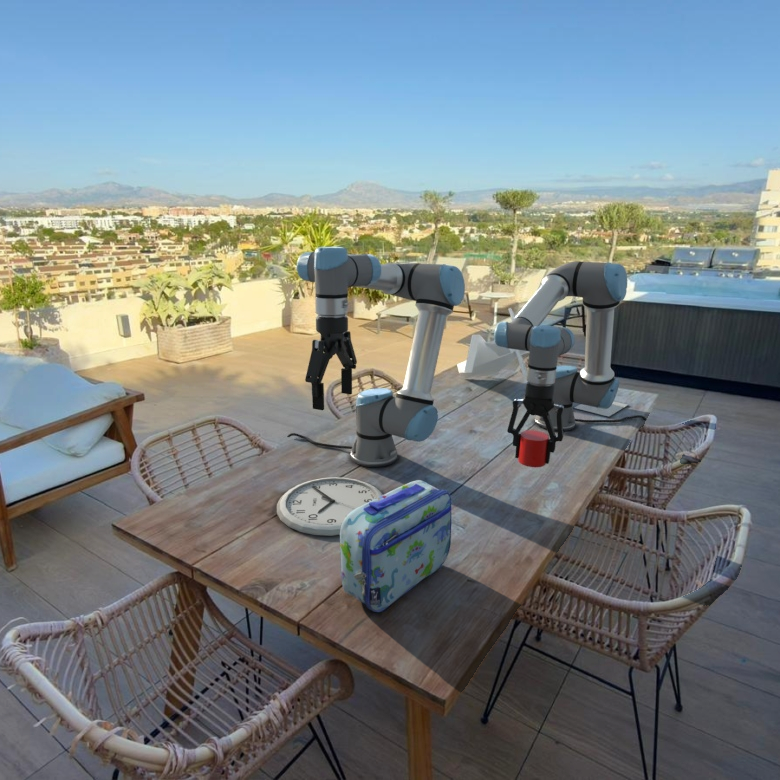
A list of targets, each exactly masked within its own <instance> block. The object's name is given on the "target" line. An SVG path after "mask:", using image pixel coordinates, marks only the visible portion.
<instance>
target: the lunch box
mask: <svg viewBox="0 0 780 780" xmlns="http://www.w3.org/2000/svg"><path fill="white" fill-rule="evenodd" d="M383 494H384V495H382V496H380V497H378V498H376V499H374V500H372V501H370V502H368V503H366V504H364V505H362V506H360V507H358V508H356V509H354V510H353V511H351V512H350V513H349V514H348V515H347V516H346V518H345V519H344V521H343V523H342V526H341V530H340V535H339V551H340V574H341V576H340V577H341V585H342V588H343V589H342V590H343V591H344V593H346V594H348V595H350V596H352V597H353V598H355V599H357V600H358V601H359V602H361V603H362V604H364V605H365V606H366V608H367V609H369V610H370V611H371V612H374V613H381V612H384V611H385V610H386V609H387V608H389V607H390V606H391V605H392V604H393V603H395V602H396V601H397V600H399V599H400V598H401V597H402V596H404V595H405V594H407V593H408V592H410V591H411V590H412V589H413V588H415V587H416V586H417V585H418V584H419V583H420V582H421V581H423V580H425V579H426V578H427V577H429V576H430V575H432V574H434V573H435V572H436V571H438V570H439V569H440V568H441V567H442V566H443V565H444V563H445V562H446V560H447V558H448V556H449V553H450V550H451V549H450V548H451V545H452V543H451V542H452V497H451V494H450V492H449V491H448V490H446V489H438V488H437V487H435V486H434V485H431V484H429V483H427V482H426V481H424V480H421V479H416V480H413V481H410V482H408V483H405V484H403V485H401V486H399V487H397V488H394V489H393V490H390V491H388V492H387V493H383Z"/></svg>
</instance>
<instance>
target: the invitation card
mask: <svg viewBox="0 0 780 780" xmlns="http://www.w3.org/2000/svg"><path fill="white" fill-rule="evenodd" d="M628 406H629V404H627V403H623V402H618V401H615V400H614V401H613V403H612V405H611V406H610V407H609V408H608V409H603V408H596V407H593V406H588V405H583V404H578V405H575V406H574V407H573V409H575V410H581V411H584V412H587V413H593V414H596V415H600V416H604V417H608V418H609V417H611V416H613V415H614V414H616V413H617V412H619V411H621V410H623V409H624V408H626V407H628Z"/></svg>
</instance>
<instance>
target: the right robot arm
mask: <svg viewBox="0 0 780 780" xmlns="http://www.w3.org/2000/svg"><path fill="white" fill-rule="evenodd" d="M627 289H628V274H627V270H626V268H625V267H624V265H623V264H620V263H613V262H609V261H608V262H601V261H599V262H598V261H597V262H595V261H581V260H577V261H576V260H575V261H570V262H566V263H564V264H561V265H560V266H557V267H556V268H554V269H552V270H551V271H550V272H548V273H547V274H546V275H545V276H544V277H543V278H542V280H541V282H540V284H539V288H538V289H537V290H536V291H535V292H534V294H533V295H532V296H531V297H530V298H529V300H528V301H527V302H526V303H525V304H524V306H523V307H522V308H521V309H520V311H518V313H517V314H516V315H515V318H514V319H513V320H512V319H511V321H510V322H508V321H501V322H498V323H497V324H496V326H495V329H494V332H493V341H495V343H496V345H497V346H500V347H505V348H507V349H516V350H524V351H529V353H528V363H527V381H528V382H527V383H525V390H524V397H523V398H522V399H519V398H517V397H516V398H514V400H513V401H512V411H511V415H510V419H509V422H508V426H507V430H506V432H507V433H508V434H512V446H513V447H515V454H514V455H515V456H514V459H518V455H519V445H520V435H521V433H520V432H521V430H522V428H523V427H524V425H525V423H526V422H527V420H528V419H529V417H530V416H534V424H535V425H536V426H537V427H539V428H542V429H544V430H547V433H548V436H549V441H548V446H547V455H546V464H545V465H548V464H549V463H550V460H551V453H555V451H556V443H557V442H562V441H563V439H564V432H567V431H572V430H574V429H575V428H576V422H579V423H620V422H624V421H626V420H632V419H638V418H639V419H643V420H644V421H647V420H648V419H647V417H645V416H644V415H639V414H638V415H637V414H635V415H631V416H624V417H622V418H619V419H581V418H575V417H576V416H575V413H574V407H573V405H574V404H578V405H580V404H583V405H588V406H593V407H596V408H603V409H608V408H609V407H610V406H611V405H612V403H613V401H614V402H615V399H616V396H617V394H618V391H619V387H620V379H619V378H617V377H615V371H614V370H613V369H612V368H611V364H612V363H611V362H612V350H613V349H612V348H613V336H614V335H613V334H614V321H615V320H614V319H615V309H616V308H617V307H618V306H619V305H620V304H621V302H622V301H624V299H625V298H626V296H627V292H628V291H627ZM566 297H575V298H582V305H583V307H585V308H586V322H585V323H586V326H585V348H584V349H585V351H584V352H585V353H584V367H583V368H581V370H580V371H578V368H577V366H573V365H558V361H559V357H561V356H562V355H566V354H567V353H568V352H569V351H571V349H573V347H574V345H575V342H576V338H575V334H574V332H573V331H572V330H571V329H570V328H568V327H565V326H564V327H563V326H554V325H547V324H546V325H542V323H543V322H544V320H545V319H546V318H547V317H548V315H549V314H550V313H551V312H552V310H554V308H555V307H556V305H557V304H558V303H559V302H561V301H564V300H565V299H566ZM522 405H523V406H524V408H525V410H526V411H525V413H524V415H523V416H522V418H521V420H520V422H519V423H518V425H517V427H516V428H515V423H516V420H517V416H518V413H519V409H520V408H521V407H522ZM555 431H556V432H555ZM556 434H557V435H556Z"/></svg>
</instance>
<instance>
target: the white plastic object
mask: <svg viewBox="0 0 780 780" xmlns="http://www.w3.org/2000/svg"><path fill="white" fill-rule="evenodd" d="M507 310H508V313H509V315H510V319H511V321H512V320H513V319H514V318H515V317H516V315H515V312H514V310H513V309H512V307H508V309H507ZM527 354H529V351H524V350H516V349H507V348H505V347H500V346H497V345H496V343H495V341H494V340H491V341H487V340H485V338H484V337H483V336H482V335H481V334H471V339H470V342H469V347H468V352H467V357H466V360H464V361H462V362H459V363H457V364H456V366H457V371H458V375H460V377H461V379H469V378H470V379H472V378H480V377H489V378H491V377H494V376H497V375H500V373H499V372H500V371H502V370H504V369H505V368H506V367H507V366H509V365H510V364H511V363H513V362H514V361H516V360H517V361H518V363H519V367H520V370H521V373H522V376H523V380H524V383H525V384H526V383H527V382H528V381H527V371H528V369H527V368H526V364H525V362H524V361H525V360H524V357H523V355H527Z"/></svg>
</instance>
